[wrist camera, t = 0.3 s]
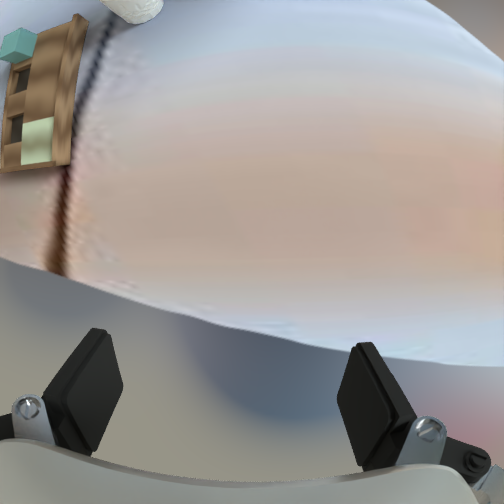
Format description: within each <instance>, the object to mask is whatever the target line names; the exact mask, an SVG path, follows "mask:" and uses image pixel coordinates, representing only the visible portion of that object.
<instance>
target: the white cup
mask: <svg viewBox="0 0 504 504" xmlns="http://www.w3.org/2000/svg"><path fill="white" fill-rule="evenodd" d="M99 1H100V2H102V3H103V4H104V5H105V6H107V7H108V8H109V9H110V10H112V11H113V12H114V13H115V14H117V15H118V16H120V17H122V18H123V19H124V20H125V21H126V22H127V23H132V24H140V23H145V22H147V21H149V20H151V19H152V18H154V17H155V16H156V15H157V14H158V13H159V12H160V11H161V9H162V7H163V5H164V1H163V0H99Z"/></svg>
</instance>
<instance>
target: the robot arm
mask: <svg viewBox="0 0 504 504" xmlns="http://www.w3.org/2000/svg"><path fill="white" fill-rule="evenodd" d="M122 391H123V382H122V378H121V375H120V371H119V368H118V363H117V359H116V356H115V351H114V347H113V343H112V338H111V335H110V334H108V333H107V331H106V330H103V329H97V328H92V329H90V331H89V332H88V333H87V335H86V336H85V337H84V338H83V340H82V341H81V342H80V344H79V345H78V346H77V347H76V349H75V350H74V351H73V353H72V354H71V355H70V357H69V358H68V359H67V361H66V362H65V363H64V365H63V366H62V368H61V369H60V370H59V371H58V373H57V374H56V375H55V377H54V378H53V380H52V381H51V383H50V384H49V385H48V387H47V388H46V390H45V391H44V392H43V396H42V397H41V398H40V397H39V396H37V395H33V394H27V395H23V396H21V397H19V398H18V399H16V401H15V402H14V403H13V405H12V411H11V412H12V413H10V414H6V415H3V416H0V504H504V469H502V468H501V467H499V466H498V465H496V464H495V465H494V466H491V459H490V457H489V455H488V453H487V452H486V451H485V450H483V449H481V448H478V447H475V446H472V445H469V444H466V443H463V442H461V441H458V440H455V439H452V438H450V437H447V429H446V426H445V425H444V424H443V422H441V421H440V420H439V419H437V418H435V417H431V416H422V417H419V418H417V416H416V414H415V412H414V411H413V409H412V407H411V405H410V403H409V402H408V400H407V398H406V396H405V395H404V393H403V391H402V390H401V388H400V386H399V385H398V383H397V381H396V380H395V378H394V376H393V375H392V373H391V372H390V370H389V369H388V367H387V365H386V364H385V362H384V361H383V359H382V357H381V356H380V354H379V352H378V351H377V349H376V347H375V346H374V344H373V343H372V342H362V343H357V344H356V346H355V347H352V349H351V353H350V356H349V360H348V363H347V366H346V369H345V373H344V376H343V379H342V382H341V386H340V388H339V391H338V394H337V403H338V406H339V409H340V412H341V415H342V418H343V421H344V424H345V427H346V430H347V434H348V437H349V439H350V443H351V446H352V449H353V452H354V455H355V458H356V462H357V465H358V466H362V468H363V472H361V473H355V474H349V475H342V476H334V477H327V478H318V479H308V480H295V481H274V482H240V481H238V482H237V481H219V480H206V479H196V478H187V477H179V476H173V475H166V474H160V473H155V472H149V471H144V470H140V469H135V468H130V467H126V466H122V465H118V464H114V463H110V462H107V461H103V460H99V459H96V458H93V457H91V454H92V452H95V451H96V450H97V449H98V446H99V444H100V441H101V439H102V437H103V434H104V432H105V430H106V427H107V425H108V423H109V420H110V418H111V416H112V413H113V411H114V409H115V407H116V404H117V402H118V400H119V398H120V396H121V393H122Z"/></svg>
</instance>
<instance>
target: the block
mask: <svg viewBox="0 0 504 504" xmlns="http://www.w3.org/2000/svg"><path fill="white" fill-rule="evenodd" d="M37 36H38V35H37V34H35V33H32V32H30V31H28V30H26V29H23V28H20V29H18V30H16V31H14V32H12V33H10V34H8V35H6V36H4V40H3V43H2V47H1V51H0V60H4V61H7V62H11V63H15V64H16V63H19V62H21V61H23V60H26V59H28V58H31V57H32V55H33V51H34V47H35V43H36V39H37Z"/></svg>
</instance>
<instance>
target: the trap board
mask: <svg viewBox="0 0 504 504" xmlns="http://www.w3.org/2000/svg"><path fill="white" fill-rule="evenodd" d="M88 23H89V21H87V20H86V19H85V18H83V17H82V16H81V15H79V14H78V13H77V14H74V15H73V18H72V21H71V22H68V23H65V24H62V25H59V26H57V27H54V28H51V29H49V30H46V31H44V32H41V33H39V34H37V35H38V36H37V39H36V43H35V47H34V51H33V55H32V57H31V58H28V59H26V60H23V61H21V62H19V63H16V64H15V63H12V65H11V70H10V75H9V80H8V85H7V92H6V98H5V106H4V114H3V124H2V138H1V169H0V173H6V172H13V171H20V170H27V169H35V168H43V167H52V166H61V165H70V150H71V130H72V117H73V107H74V98H75V90H76V83H77V76H78V70H79V64H80V59H81V54H82V49H83V44H84V40H85V35H86V31H87V27H88Z"/></svg>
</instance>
